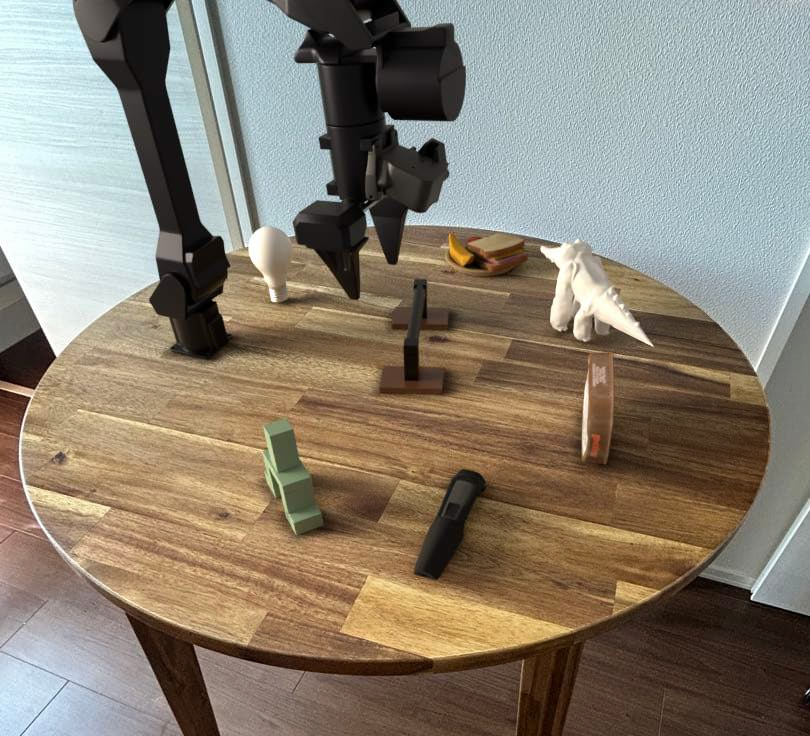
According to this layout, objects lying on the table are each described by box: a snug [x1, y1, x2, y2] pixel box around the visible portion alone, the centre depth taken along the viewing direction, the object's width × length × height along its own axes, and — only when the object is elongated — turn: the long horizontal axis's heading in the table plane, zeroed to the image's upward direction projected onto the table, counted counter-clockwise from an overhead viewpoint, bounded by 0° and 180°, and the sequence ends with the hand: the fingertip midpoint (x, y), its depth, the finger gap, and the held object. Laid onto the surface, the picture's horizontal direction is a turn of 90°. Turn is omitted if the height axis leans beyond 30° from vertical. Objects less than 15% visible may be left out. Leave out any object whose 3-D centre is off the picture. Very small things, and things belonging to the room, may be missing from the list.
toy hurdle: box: [378, 278, 450, 395], centre depth 87 cm, size 8×21×6 cm, turn 175°
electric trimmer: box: [413, 468, 487, 581], centre depth 64 cm, size 4×16×3 cm, turn 158°
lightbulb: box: [248, 225, 294, 304], centre depth 96 cm, size 6×6×11 cm
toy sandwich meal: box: [444, 232, 529, 277], centre depth 105 cm, size 12×14×5 cm
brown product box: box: [580, 351, 615, 466], centre depth 72 cm, size 15×3×8 cm, turn 168°
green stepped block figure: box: [261, 418, 324, 536], centre depth 65 cm, size 9×3×10 cm, turn 27°
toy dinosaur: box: [540, 238, 655, 348], centre depth 86 cm, size 7×24×11 cm, turn 28°
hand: (374, 281), depth 72 cm, fingers open, 9 cm apart
